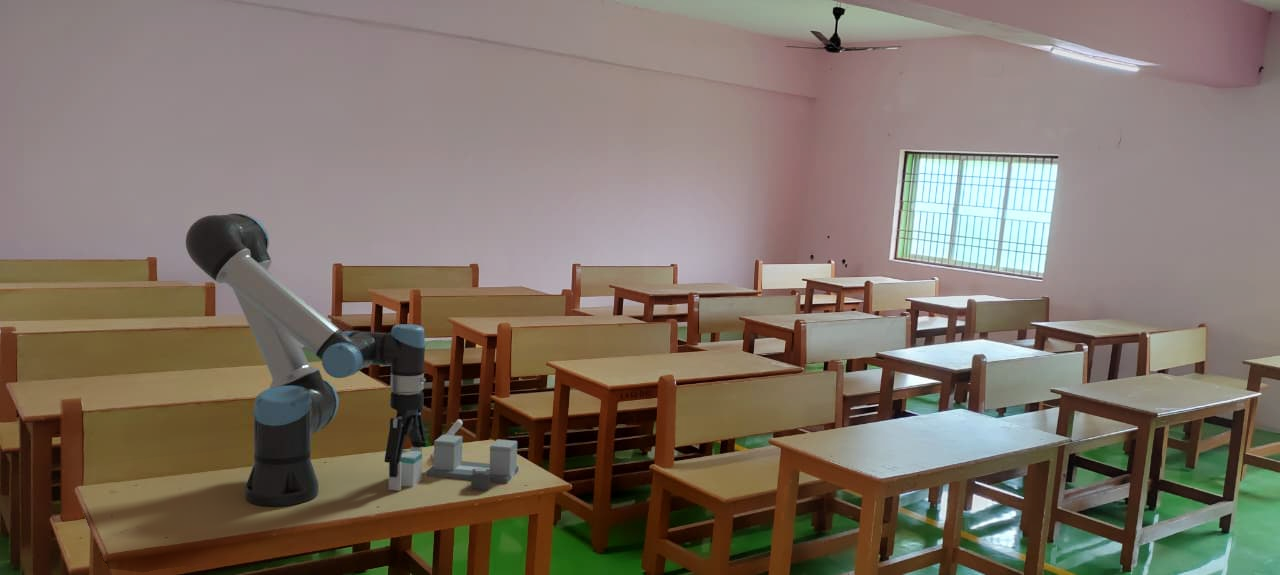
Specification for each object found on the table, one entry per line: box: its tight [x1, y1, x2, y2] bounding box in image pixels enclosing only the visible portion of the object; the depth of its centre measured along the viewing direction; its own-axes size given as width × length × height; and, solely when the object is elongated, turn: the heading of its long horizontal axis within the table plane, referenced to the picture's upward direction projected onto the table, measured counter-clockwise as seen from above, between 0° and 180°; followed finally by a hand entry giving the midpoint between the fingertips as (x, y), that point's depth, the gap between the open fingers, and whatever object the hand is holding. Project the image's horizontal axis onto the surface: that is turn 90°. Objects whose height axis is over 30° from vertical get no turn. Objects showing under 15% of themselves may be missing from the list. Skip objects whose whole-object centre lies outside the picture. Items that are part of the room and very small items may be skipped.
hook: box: [431, 418, 463, 459], centre depth 240 cm, size 8×12×7 cm
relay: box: [470, 468, 490, 492], centre depth 217 cm, size 4×4×5 cm
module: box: [400, 449, 423, 488], centre depth 218 cm, size 6×5×7 cm
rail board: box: [426, 434, 519, 484], centre depth 227 cm, size 20×10×8 cm, turn 82°
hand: (405, 481), depth 218 cm, fingers open, 12 cm apart
